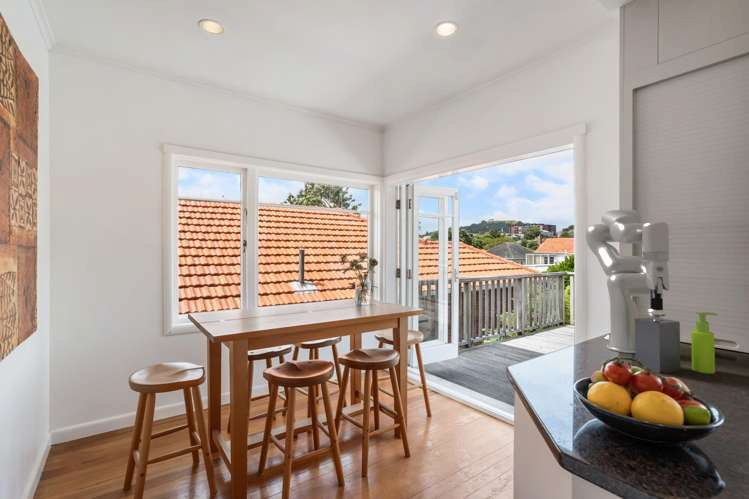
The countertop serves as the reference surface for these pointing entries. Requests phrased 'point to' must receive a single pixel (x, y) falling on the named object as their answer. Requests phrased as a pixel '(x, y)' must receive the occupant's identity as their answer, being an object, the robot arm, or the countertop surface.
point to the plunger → (656, 313)
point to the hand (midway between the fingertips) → (656, 309)
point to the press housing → (658, 344)
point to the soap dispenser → (703, 346)
